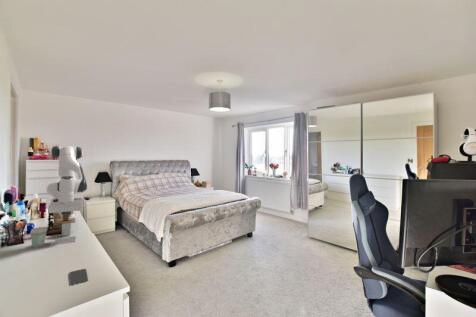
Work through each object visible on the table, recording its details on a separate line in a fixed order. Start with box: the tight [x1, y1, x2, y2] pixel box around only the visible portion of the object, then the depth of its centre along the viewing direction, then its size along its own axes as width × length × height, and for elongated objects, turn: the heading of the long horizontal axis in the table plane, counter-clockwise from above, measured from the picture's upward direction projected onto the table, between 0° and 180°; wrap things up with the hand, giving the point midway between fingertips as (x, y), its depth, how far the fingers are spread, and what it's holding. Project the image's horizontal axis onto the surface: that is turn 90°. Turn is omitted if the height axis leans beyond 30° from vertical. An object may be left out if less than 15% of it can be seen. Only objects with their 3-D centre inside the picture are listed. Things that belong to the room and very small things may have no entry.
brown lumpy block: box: [46, 212, 65, 236], centre depth 178 cm, size 15×15×20 cm
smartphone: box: [68, 268, 89, 286], centre depth 110 cm, size 7×1×15 cm
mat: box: [53, 235, 76, 246], centre depth 160 cm, size 14×12×1 cm
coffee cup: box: [29, 226, 48, 249], centre depth 149 cm, size 8×9×12 cm
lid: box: [55, 213, 76, 225], centre depth 161 cm, size 11×11×6 cm
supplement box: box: [61, 217, 79, 237], centre depth 175 cm, size 7×7×13 cm
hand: (65, 217), depth 161 cm, fingers closed on lid, 3 cm apart
